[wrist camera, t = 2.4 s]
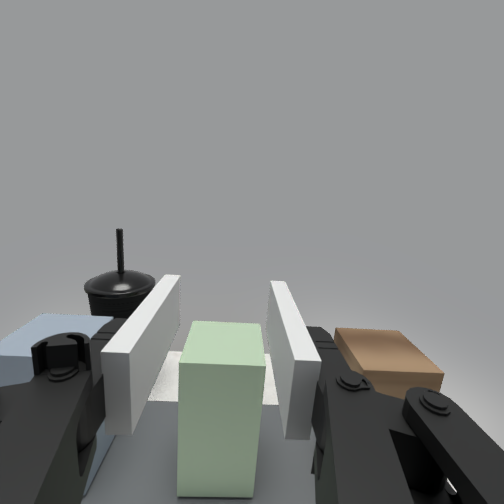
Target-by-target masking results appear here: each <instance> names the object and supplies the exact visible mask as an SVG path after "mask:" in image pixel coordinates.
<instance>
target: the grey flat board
mask: <svg viewBox="0 0 504 504" xmlns="http://www.w3.org/2000/svg"><path fill="white" fill-rule="evenodd" d="M315 443H316V437H315V433H314V430H313V427H312V428H311V434H310V440H288V439H285V437H284V431H283V425H282V420H281V414H280V408H279V405H262V411H261V421H260V431H259V441H258V452H257V462H256V472H255V482H254V492H253V497H183V496H177V456H178V402H169V401H147V402H146V404H145V406H144V409H143V411H142V413H141V416H140V418H139V420H138V423H137V425H136V427H135V430H134V432H133V434H132V435H115V437H114V439H113V441H112V443H111V445H110V447H109V448H108V450H107V452H106V454H105V456H104V458H103V460H102V462H101V464H100V466H99V468H98V470H97V472H96V474H95V476H94V478H93V480H92V482H91V484H90V486H89V488H88V490H87V492H86V494H85V495H83V497H82V501H81V504H316V503H315V475H314V474H311V469H312V462H313V456H314V450H315Z"/></svg>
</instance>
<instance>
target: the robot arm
mask: <svg viewBox="0 0 504 504" xmlns="http://www.w3.org/2000/svg"><path fill="white" fill-rule="evenodd" d="M180 279H181V276H180V275H165V276H164V277H163V278H162V279H161V280H160V281H159V283H158V284H157V285H156V286H155V287H154V289H153V290H152V291H151V292H150V293H149V295H148V296H147V297H146V298H145V299H144V300H143V302H142V303H141V304H140V305H139V306H138V308H137V309H136V310H135V311H134V312H133V314H132V315H131V316H130V317H129V318H128V319H126V318H115V319H113V320H111V321H109V322H108V323H106V324H104V325H103V326H102V327H101V328H100V329H99V330H98V331H97V333H95V334H94V335H93V336H92V337H91V339H90V338H89V337H88V336H87V335H86V334H83V333H80V332H67V333H60V334H56V335H53V336H49V337H46V338H44V339H42V340H40V341H38V342H37V343H35V344H34V345H33V346H32V347H31V354H32V362H33V370H34V377H33V378H32V379H31V381H30V382H26V383H21V384H15V385H8V386H2V387H0V504H81V501H82V497H83V494H84V490H85V487H86V483H87V480H88V476H89V473H90V469H91V466H92V462H93V459H94V455H95V452H96V448H97V435H96V433H97V431H98V429H99V428H100V426H101V424H102V422H103V421H104V420H105V435H132V434H133V432H134V430H135V427H136V425H137V423H138V420H139V418H140V416H141V413H142V411H143V409H144V406H145V404H146V402H147V400H148V397H149V395H150V393H151V390H152V388H153V386H154V383H155V381H156V379H157V377H158V374H159V372H160V370H161V367H162V365H163V363H164V360H165V358H166V356H167V353H168V351H169V349H170V346H171V344H172V342H173V340H174V337H175V335H176V333H177V330H178V328H179V326H180V283H181V282H180V281H181V280H180ZM266 333H267V338H268V345H269V351H270V356H271V362H272V368H273V374H274V379H275V385H276V391H277V397H278V402H279V408H280V414H281V420H282V425H283V431H284V437H285V439H288V440H310V434H311V428H312V427H313V430H314V433H315V437H316V443H315V450H314V456H313V462H312V469H311V474H314V475H315V503H316V504H504V451H503V450H502V449H501V448H500V447H499V446H498V445H497V444H496V443H495V442H494V441H493V440H492V439H491V438H490V437H489V436H488V435H487V434H486V433H485V432H484V431H483V430H482V429H481V428H480V427H479V426H478V425H477V424H476V423H475V422H474V421H473V420H472V419H471V418H470V417H469V416H468V415H467V414H466V413H465V412H464V411H463V410H462V409H461V408H460V407H459V406H458V405H457V404H456V403H454V402H453V401H452V400H451V399H450V398H448V397H446V396H445V395H443V394H441V393H439V392H437V391H435V390H432V389H429V388H423V387H412V388H410V389H408V390H407V391H406V395H405V399H400V398H397V397H393V396H389V395H385V394H382V393H379V392H376V391H375V388H374V386H373V385H372V383H371V382H370V381H369V380H368V379H367V378H366V377H365V376H363V375H361V374H359V373H358V372H356V371H352V370H351V369H350V367H349V365H348V364H347V362H346V360H345V359H344V357H343V355H342V354H341V352H340V350H338V347H337V345H336V344H335V343H334V340H333V339H332V337H331V335H330V334H329V333H328V332H327V331H325V330H324V329H323V328H321V327H308V326H305V324H304V322H303V319H302V317H301V315H300V313H299V311H298V308H297V306H296V304H295V302H294V300H293V298H292V295H291V293H290V291H289V289H288V287H287V285H286V283H285V282H283V281H270V291H269V301H268V311H267V322H266ZM447 478H448V479H449V481H450V482H451V484H452V485H453V486H454V488H455V489H456V491H457V493H456V492H455V491H454V490H453V488H452V487H451V486H450V484H449V483H448V482H447Z"/></svg>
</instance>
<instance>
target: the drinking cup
mask: <svg viewBox="0 0 504 504" xmlns="http://www.w3.org/2000/svg"><path fill="white" fill-rule="evenodd" d="M116 237H117V263H118V270H115V271H111V272H107V273H104V274H101V275H99V276H97V277H94V278H92V279H90V280H89V281H87V282H86V283H85V285H84V290H85V292H86V293H87V294H88V298H89V304H90V309H91V315H92V316H107V317H113V319H115V318H126V319H128V318H129V317H130V316H131V315H132V314H133V312H134V311H135V310H136V309H137V308H138V306H139V305H140V304H141V303H142V302H143V300H144V299H145V298H146V297H147V296H148V295H149V293H150V292H151V291H152V290H153V288H154V286H155V279H154V278H153V277H152V276H150V275H147V274H143V273H141V272H138V271H132V270H124V252H123V229H116Z"/></svg>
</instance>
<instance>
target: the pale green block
mask: <svg viewBox="0 0 504 504" xmlns="http://www.w3.org/2000/svg"><path fill="white" fill-rule="evenodd" d="M265 371H266V363H265V356H264V349H263V341H262V334H261V328H260V324H250V323H229V322H209V321H193V323H192V326H191V329H190V332H189V335H188V338H187V341H186V344H185V346H184V350H183V352H182V355H181V358H180V361H179V390H178V456H177V496H183V497H253V492H254V482H255V472H256V462H257V452H258V441H259V431H260V421H261V411H262V401H263V391H264V381H265Z"/></svg>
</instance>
